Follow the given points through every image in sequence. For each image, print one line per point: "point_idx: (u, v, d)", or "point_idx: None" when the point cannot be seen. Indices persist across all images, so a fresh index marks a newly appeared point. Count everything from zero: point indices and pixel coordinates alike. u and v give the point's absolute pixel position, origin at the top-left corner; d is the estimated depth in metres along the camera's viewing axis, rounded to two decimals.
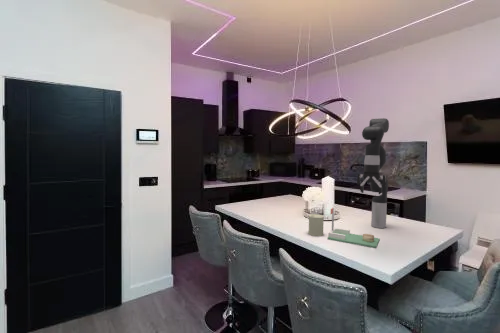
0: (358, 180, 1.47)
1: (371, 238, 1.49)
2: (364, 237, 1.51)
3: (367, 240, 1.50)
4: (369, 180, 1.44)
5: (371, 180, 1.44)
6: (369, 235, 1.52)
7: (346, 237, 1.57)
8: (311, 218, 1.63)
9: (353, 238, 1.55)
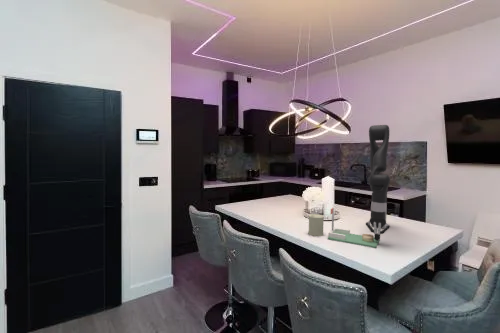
0: (370, 228, 1.50)
1: (370, 238, 1.49)
2: (363, 237, 1.51)
3: (366, 240, 1.50)
4: (375, 226, 1.49)
5: (377, 226, 1.48)
6: (369, 235, 1.52)
7: (346, 237, 1.57)
8: (311, 218, 1.63)
9: (353, 238, 1.55)
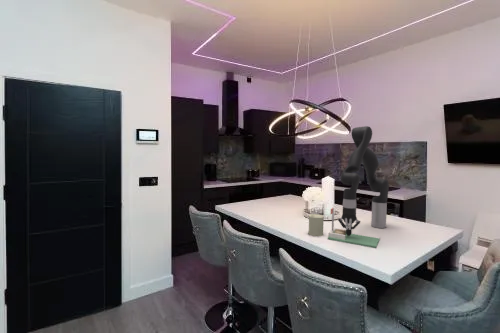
0: (342, 224, 1.58)
1: (342, 233, 1.58)
2: (336, 232, 1.60)
3: None
4: None
5: (348, 221, 1.56)
6: (341, 230, 1.60)
7: (346, 237, 1.57)
8: (311, 218, 1.63)
9: (353, 238, 1.55)
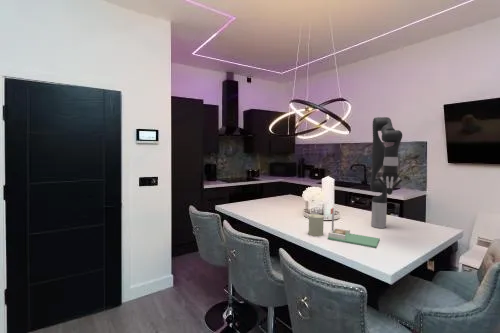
0: (382, 183, 1.56)
1: (342, 233, 1.58)
2: (336, 232, 1.60)
3: None
4: None
5: (390, 180, 1.54)
6: (341, 230, 1.60)
7: (346, 237, 1.57)
8: (311, 218, 1.63)
9: (353, 238, 1.55)
